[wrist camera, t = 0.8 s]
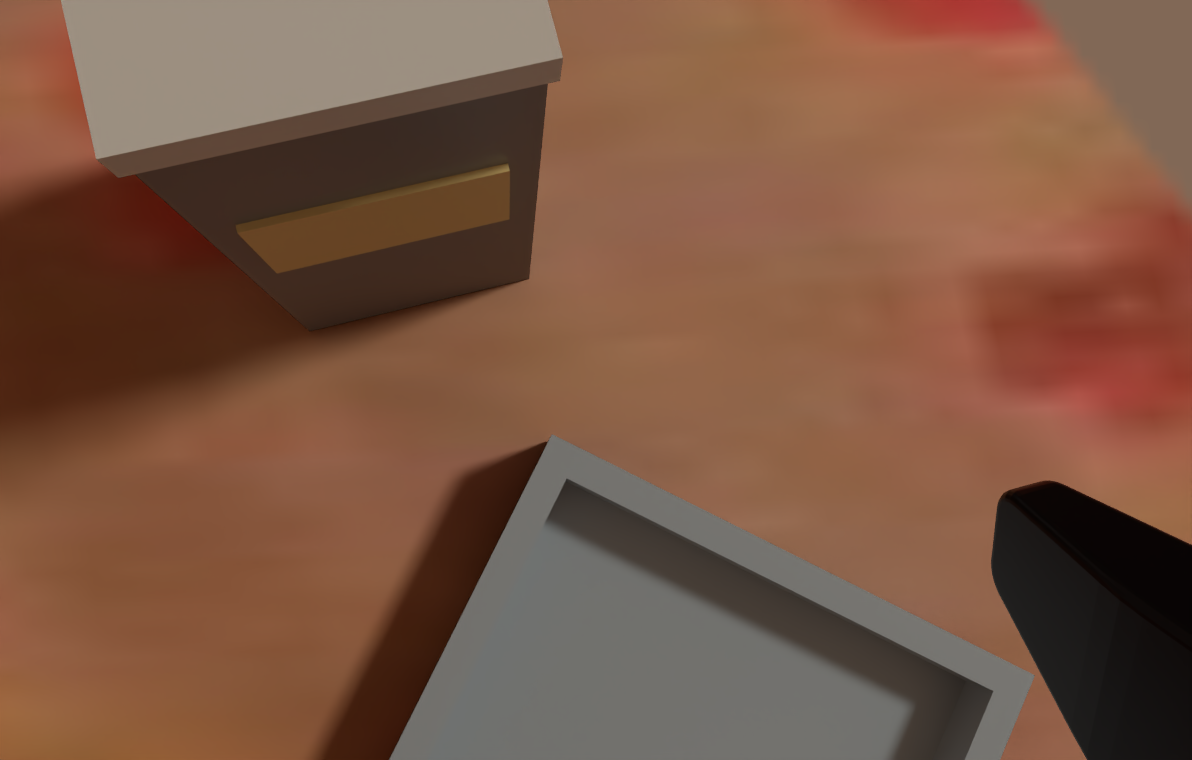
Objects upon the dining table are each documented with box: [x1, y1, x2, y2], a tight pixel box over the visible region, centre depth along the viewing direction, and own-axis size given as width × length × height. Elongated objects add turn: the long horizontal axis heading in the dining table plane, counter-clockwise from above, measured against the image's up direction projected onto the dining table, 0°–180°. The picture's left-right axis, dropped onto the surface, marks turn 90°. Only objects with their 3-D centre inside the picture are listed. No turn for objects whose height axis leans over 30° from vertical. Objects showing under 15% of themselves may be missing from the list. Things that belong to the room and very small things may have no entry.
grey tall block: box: [61, 0, 563, 331], centre depth 16 cm, size 5×5×11 cm
